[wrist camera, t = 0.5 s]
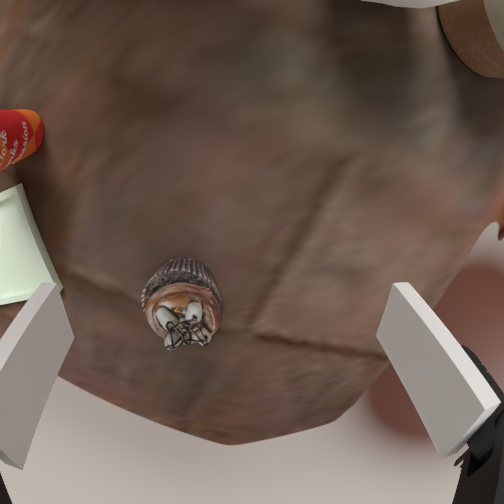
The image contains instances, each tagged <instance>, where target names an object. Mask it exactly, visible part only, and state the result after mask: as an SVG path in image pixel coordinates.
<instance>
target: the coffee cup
mask: <svg viewBox="0 0 504 504" xmlns="http://www.w3.org/2000/svg"><path fill="white" fill-rule="evenodd" d="M43 136H44V125H43V122H42V119H41V117H40V116H39V115H38V114H37V113H36V112H35V111H33V110H27V109H13V110H0V171H1V170H3V169H5V168H7V167H9V166H10V165H12V164H14V163H16V162H18V161H20V160H22V159H24V158H25V157H27V156H29V155H31V154H32V153H34V152H35V151H36V150H37V149H38V148H39V146H40V145H41V143H42V140H43Z"/></svg>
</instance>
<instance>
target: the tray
mask: <svg viewBox="0 0 504 504" xmlns="http://www.w3.org/2000/svg"><path fill="white" fill-rule="evenodd" d="M42 282H44V283H57V285H58V288H59V292H60V291H61V290H62V289H63V286H62V284H61V282H60V280H59V278H58V275H57V273H56V271H55V269H54V267H53V264H52V262H51V260H50V258H49V255H48V253H47V251H46V248H45V246H44V243H43V241H42V238H41V236H40V233H39V231H38V228H37V225H36V223H35V220H34V217H33V215H32V212H31V209H30V206H29V203H28V200H27V197H26V194H25V191H24V188H23V185H22V183H21V184H18V185H16V186H14V187H12V188H10V189H7V190H5V191H3V192H1V193H0V305H3V304H8V303H13V302H18V301H24V300H29V298H30V297H31V296H32V294H33V293H34V292H35V290H36V289H37V288H38V286H39V285H40V284H41V283H42Z"/></svg>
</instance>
